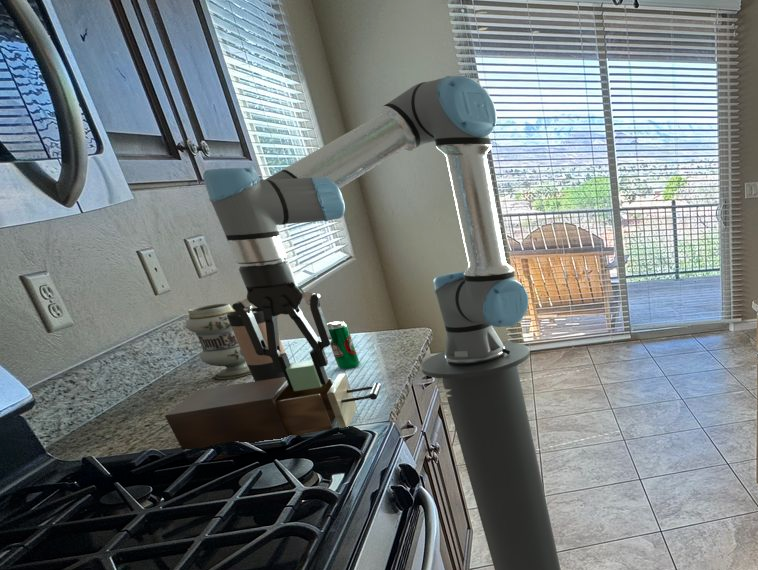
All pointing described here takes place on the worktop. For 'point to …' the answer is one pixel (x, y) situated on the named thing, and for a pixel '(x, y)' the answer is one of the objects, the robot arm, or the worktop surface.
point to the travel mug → (256, 363)
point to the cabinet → (229, 415)
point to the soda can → (342, 345)
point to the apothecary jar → (217, 340)
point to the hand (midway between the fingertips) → (309, 384)
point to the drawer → (321, 406)
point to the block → (303, 375)
